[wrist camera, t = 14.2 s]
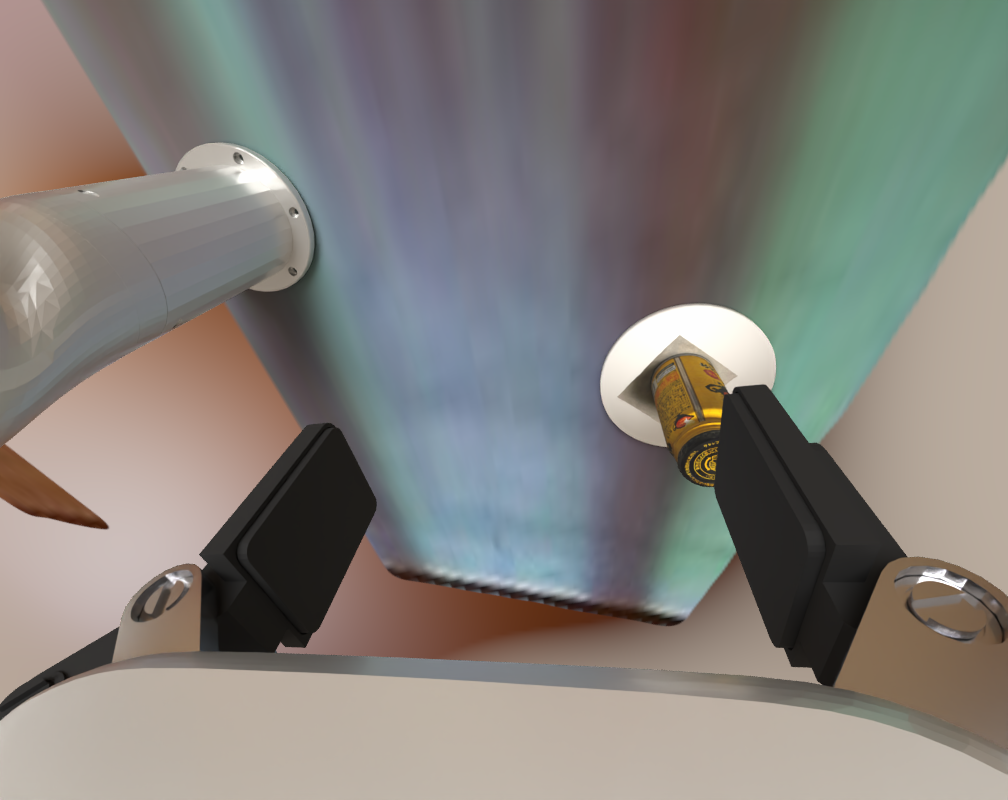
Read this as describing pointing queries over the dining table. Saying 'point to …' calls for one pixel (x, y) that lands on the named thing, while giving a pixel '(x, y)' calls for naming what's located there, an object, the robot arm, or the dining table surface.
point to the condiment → (684, 405)
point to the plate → (702, 326)
